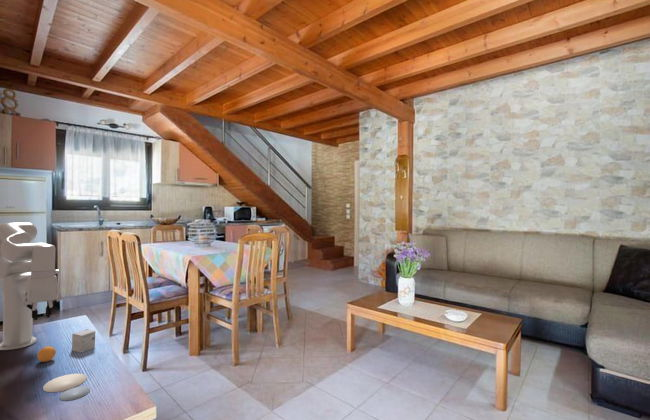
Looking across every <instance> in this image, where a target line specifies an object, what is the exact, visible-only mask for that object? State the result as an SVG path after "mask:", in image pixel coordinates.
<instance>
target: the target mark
mask: <svg viewBox="0 0 650 420" xmlns="http://www.w3.org/2000/svg"><path fill="white" fill-rule="evenodd" d="M87 379H88V377H87V375H86V374H85V373H69V374H64V375H60V376H58V377H55V378H53V379H51V380H49V381H48V382H46V383H45V384H44V385H43V386H42V390H43V391H44V392H46V393H59V392H65V391H67V390H69V389H72V388H76V387H80V386H82V384H84V383H85V382H86V381H87Z"/></svg>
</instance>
